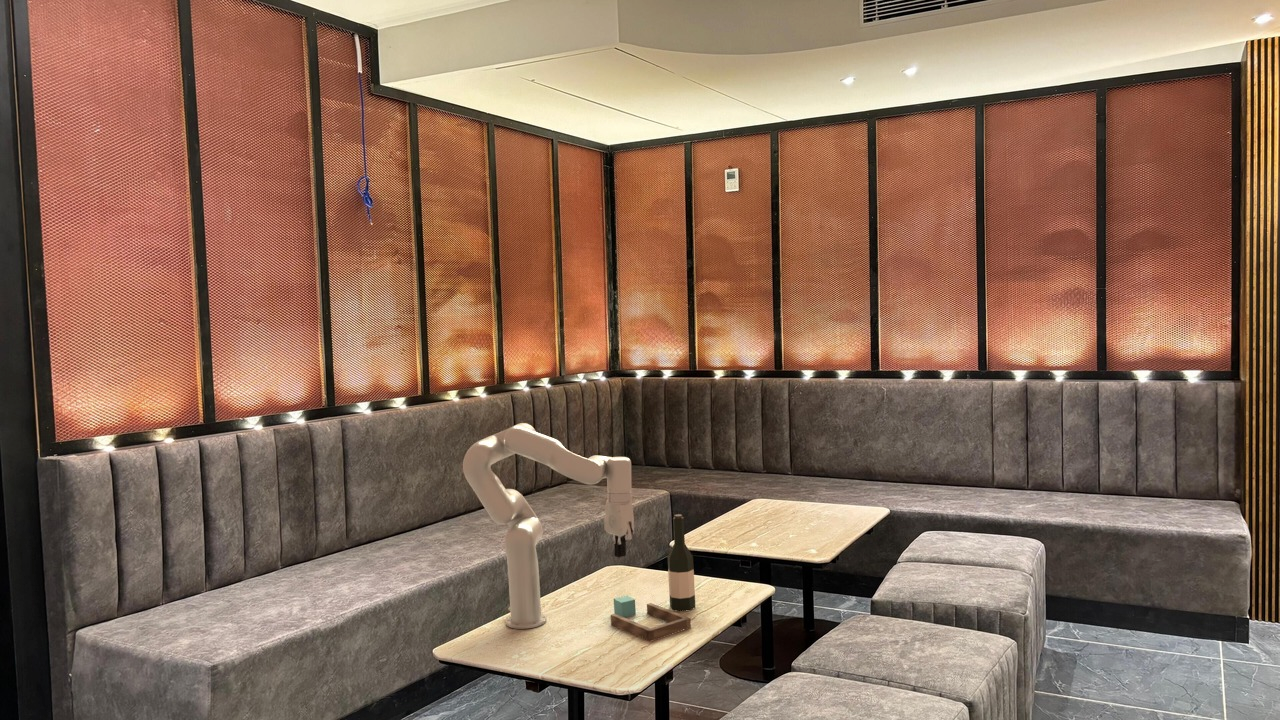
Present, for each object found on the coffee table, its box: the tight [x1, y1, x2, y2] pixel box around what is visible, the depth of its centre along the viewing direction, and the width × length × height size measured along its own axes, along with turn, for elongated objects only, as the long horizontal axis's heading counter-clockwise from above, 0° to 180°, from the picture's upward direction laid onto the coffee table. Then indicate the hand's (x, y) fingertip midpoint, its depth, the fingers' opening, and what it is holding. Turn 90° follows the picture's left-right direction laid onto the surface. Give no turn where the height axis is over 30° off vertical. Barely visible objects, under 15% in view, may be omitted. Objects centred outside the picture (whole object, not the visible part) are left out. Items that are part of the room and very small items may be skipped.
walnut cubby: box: [610, 602, 692, 642], centre depth 266 cm, size 20×16×3 cm
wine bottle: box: [667, 513, 696, 612], centre depth 281 cm, size 8×8×30 cm
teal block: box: [613, 595, 637, 618], centre depth 278 cm, size 5×5×5 cm
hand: (620, 555), depth 270 cm, fingers closed
